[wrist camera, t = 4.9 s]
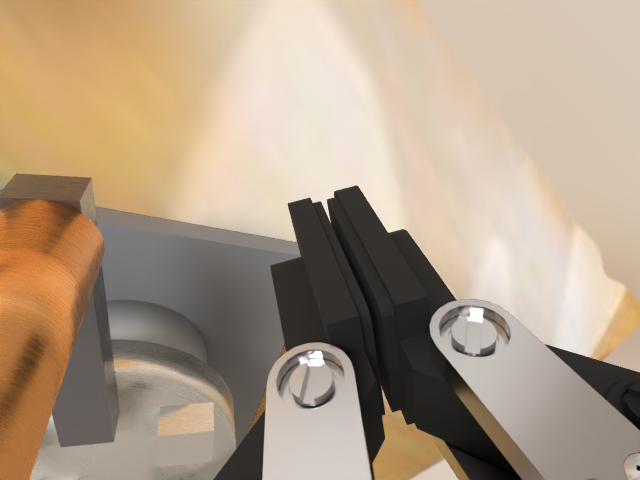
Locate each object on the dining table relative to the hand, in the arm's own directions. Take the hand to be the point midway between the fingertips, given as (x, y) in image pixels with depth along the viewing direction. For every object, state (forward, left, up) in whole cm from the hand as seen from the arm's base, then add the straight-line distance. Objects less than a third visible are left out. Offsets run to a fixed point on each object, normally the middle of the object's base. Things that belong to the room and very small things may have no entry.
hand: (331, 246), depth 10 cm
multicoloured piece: (+14, -5, -8) cm, 17 cm away
